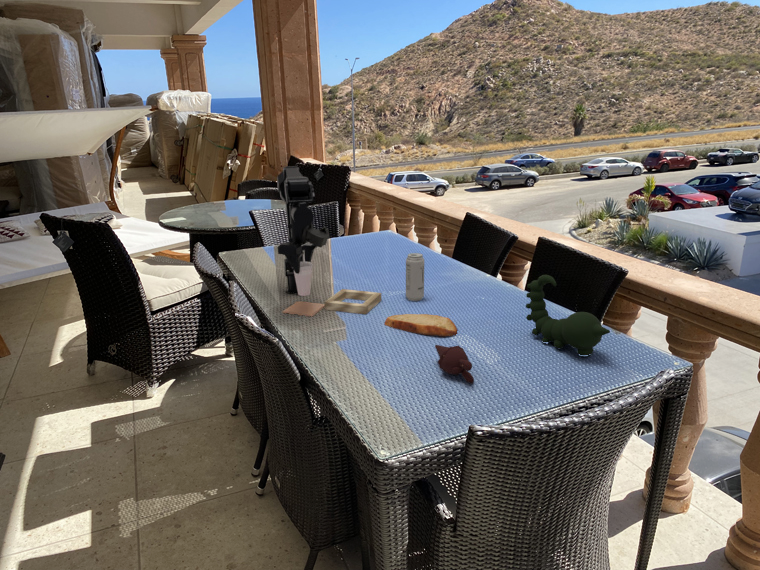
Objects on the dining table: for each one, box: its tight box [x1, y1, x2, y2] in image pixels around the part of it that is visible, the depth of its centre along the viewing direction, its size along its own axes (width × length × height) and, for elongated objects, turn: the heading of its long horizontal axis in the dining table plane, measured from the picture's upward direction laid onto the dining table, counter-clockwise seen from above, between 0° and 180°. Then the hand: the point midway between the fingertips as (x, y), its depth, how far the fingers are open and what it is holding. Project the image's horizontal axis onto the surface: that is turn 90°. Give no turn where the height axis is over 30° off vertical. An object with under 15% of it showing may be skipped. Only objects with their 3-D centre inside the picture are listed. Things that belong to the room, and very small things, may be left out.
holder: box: [323, 288, 382, 315], centre depth 170 cm, size 14×14×2 cm
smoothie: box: [294, 250, 314, 297], centre depth 163 cm, size 6×6×14 cm
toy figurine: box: [525, 274, 611, 355], centre depth 135 cm, size 9×19×25 cm
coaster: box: [282, 300, 325, 318], centre depth 167 cm, size 10×10×1 cm
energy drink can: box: [405, 252, 425, 302], centre depth 174 cm, size 6×6×15 cm
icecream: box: [434, 344, 475, 384], centre depth 124 cm, size 7×7×15 cm
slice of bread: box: [383, 313, 459, 338], centre depth 151 cm, size 18×18×4 cm
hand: (302, 270), depth 163 cm, fingers closed on smoothie, 6 cm apart
